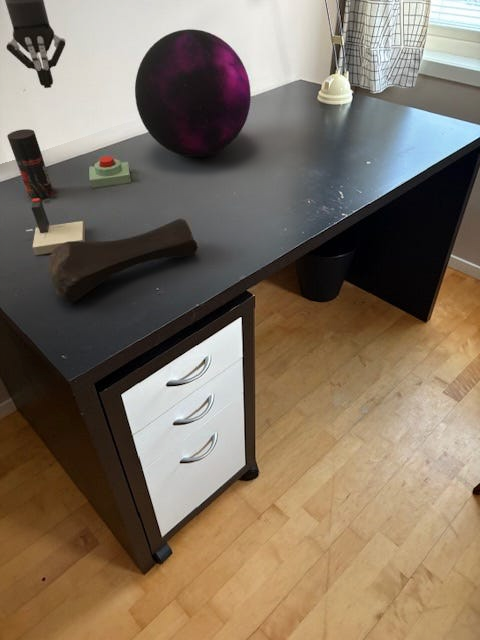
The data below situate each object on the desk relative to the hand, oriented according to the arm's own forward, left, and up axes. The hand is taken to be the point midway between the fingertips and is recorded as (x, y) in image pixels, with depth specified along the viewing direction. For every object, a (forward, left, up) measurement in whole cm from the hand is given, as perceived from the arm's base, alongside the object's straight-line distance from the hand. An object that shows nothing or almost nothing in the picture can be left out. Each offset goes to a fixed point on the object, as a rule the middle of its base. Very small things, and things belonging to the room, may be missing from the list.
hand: (48, 86), depth 111 cm
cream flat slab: (+15, -27, -22) cm, 38 cm away
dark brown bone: (+36, -32, -22) cm, 53 cm away
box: (+10, +2, -22) cm, 25 cm away
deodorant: (-2, -11, -22) cm, 25 cm away
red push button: (+10, +2, -19) cm, 21 cm away
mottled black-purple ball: (+25, +24, -22) cm, 41 cm away
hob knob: (+13, -27, -20) cm, 36 cm away
